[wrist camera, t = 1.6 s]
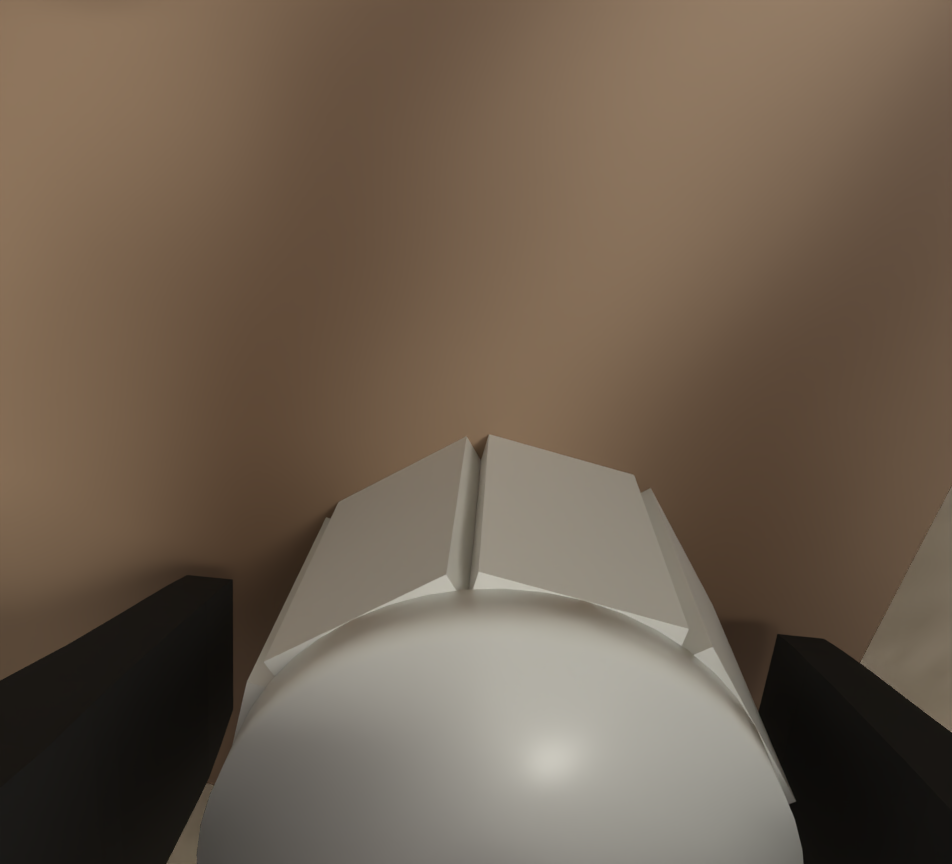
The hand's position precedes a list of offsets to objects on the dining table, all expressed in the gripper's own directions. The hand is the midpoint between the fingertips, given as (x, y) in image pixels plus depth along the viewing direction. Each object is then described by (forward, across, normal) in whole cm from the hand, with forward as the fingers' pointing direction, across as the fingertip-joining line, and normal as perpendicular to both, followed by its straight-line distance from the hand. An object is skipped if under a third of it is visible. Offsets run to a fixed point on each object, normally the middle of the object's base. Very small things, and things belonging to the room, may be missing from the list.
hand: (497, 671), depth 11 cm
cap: (+1, 0, 0) cm, 1 cm away
